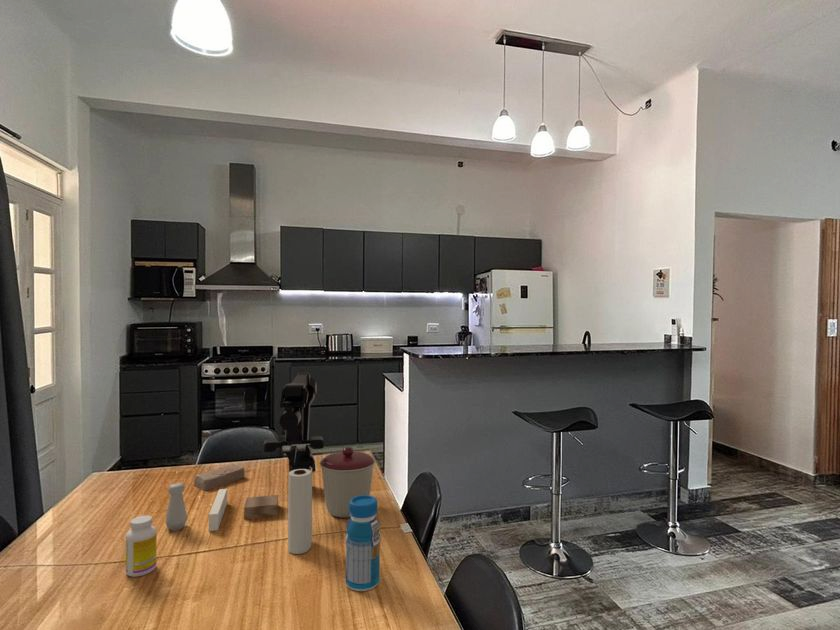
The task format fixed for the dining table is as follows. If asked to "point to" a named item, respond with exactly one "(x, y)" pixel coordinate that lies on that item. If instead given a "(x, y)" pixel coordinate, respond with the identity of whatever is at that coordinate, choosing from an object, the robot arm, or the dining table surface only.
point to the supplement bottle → (140, 547)
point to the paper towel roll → (300, 511)
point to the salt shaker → (176, 508)
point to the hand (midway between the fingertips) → (293, 469)
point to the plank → (217, 510)
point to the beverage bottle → (362, 544)
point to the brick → (219, 476)
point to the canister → (345, 479)
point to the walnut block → (261, 507)
